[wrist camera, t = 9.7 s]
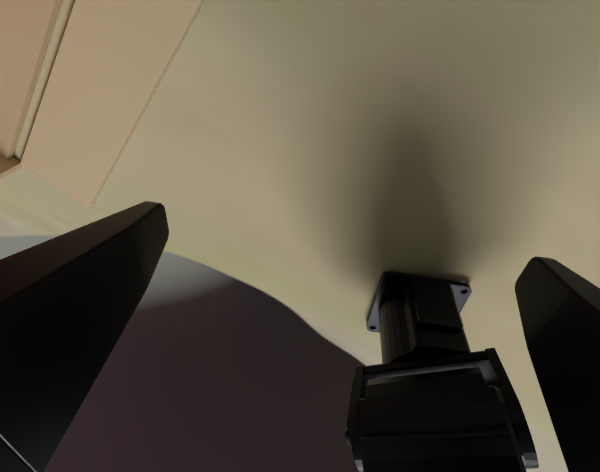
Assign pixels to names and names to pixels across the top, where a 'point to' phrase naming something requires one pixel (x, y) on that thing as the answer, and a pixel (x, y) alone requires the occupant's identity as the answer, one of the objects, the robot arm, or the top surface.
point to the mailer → (83, 83)
